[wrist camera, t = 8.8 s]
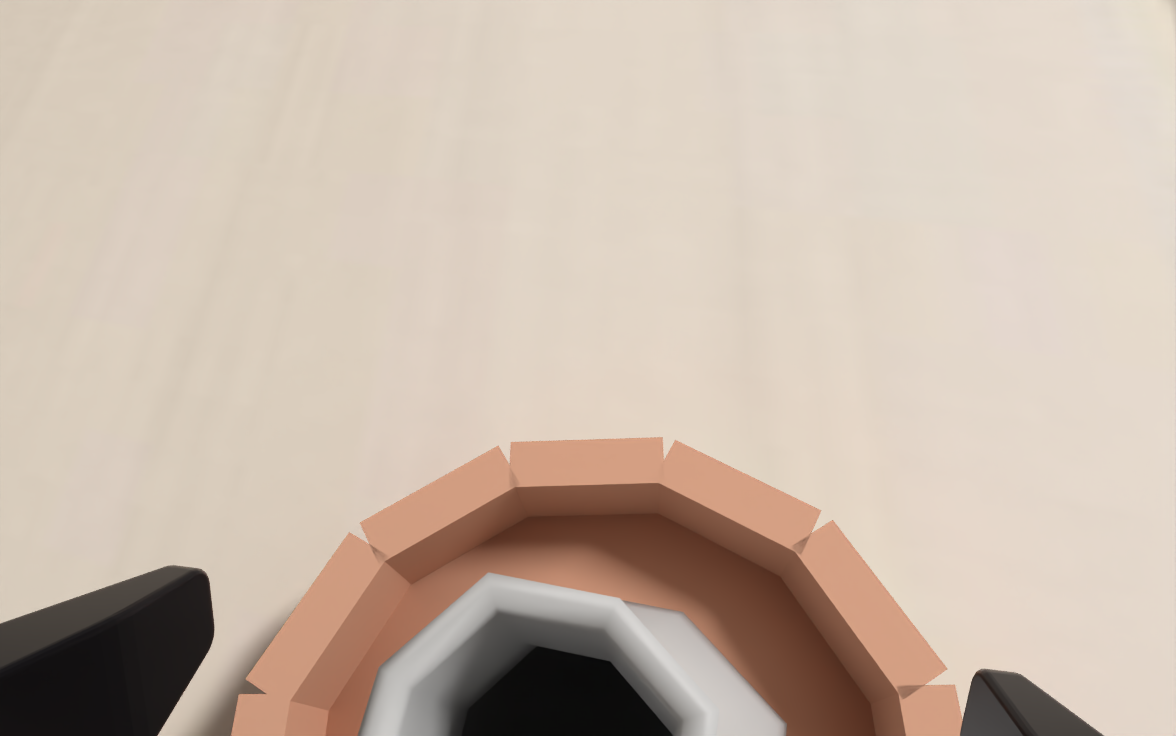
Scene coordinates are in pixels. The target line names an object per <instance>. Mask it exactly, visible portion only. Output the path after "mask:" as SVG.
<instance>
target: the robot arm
mask: <svg viewBox="0 0 1176 736" xmlns="http://www.w3.org/2000/svg"><path fill="white" fill-rule="evenodd" d="M213 637H214V619H213V610H212V601H211V591H210V583H209V578H208V576H207V574H206V573H205V572H204V571H203V570H202V569H199V568H191V567H183V566H175V565H172V566H166V567H163V568H160V569H157V570H154V571H151V572H148V573H146V574H143V575H140V576H137V577H134V578H131V579H128V580H125V581H122V582H119V583H117V584H114V585H111V586H108V587H105V588H102V589H99V590H96V591H93V592H90V593H88V594H85V595H82V596H79V597H76V598H73V599H70V600H67V601H64V602H61V603H59V604H56V605H53V606H50V607H47V608H44V609H41V610H38V611H35V612H32V613H30V614H27V615H24V616H21V617H18V618H15V619H12V620H9V621H6V622H3V623H1V624H0V736H157V735H158V734H159V732H160V731H161V729H162V727H163V726H164V724H165V722H166V721H167V719H168V717H169V716H170V714H171V712H172V711H173V709H174V707H175V706H176V704H177V702H178V701H179V699H180V697H181V696H182V694H183V692H184V691H185V689H186V688H187V686H188V684H189V683H190V681H191V679H192V678H193V676H194V674H195V673H196V671H197V669H198V668H199V666H200V664H201V663H202V661H203V659H204V658H205V656H206V654H207V653H208V651H209V649H210V647H211V644H212V641H213ZM960 736H1104V735H1102V734H1101V733H1100V732H1098V731H1097V730H1096V729H1094V728H1093V727H1091V726H1090V725H1089V724H1087V723H1086V722H1085V721H1083V720H1082V719H1081V718H1079V717H1078V716H1077V715H1075V714H1074V713H1073V712H1071V711H1070V710H1069V709H1067V708H1066V707H1064V706H1063V705H1062V704H1060V703H1059V702H1058V701H1056V700H1055V699H1054V698H1052V697H1051V696H1050V695H1048V694H1047V693H1046V692H1044V691H1043V690H1041V689H1040V688H1039V687H1037V686H1036V685H1035V684H1033V683H1032V682H1031V681H1029V680H1028V679H1027V678H1025V677H1024V676H1022V675H1021V674H1018V673H1015V672H1007V671H998V670H990V669H980V670H979V671H977V672H976V673H975V675H974V677H973V679H972V682H971V686H970V691H969V695H968V699H967V704H966V708H965V713H964V717H963V722H962V726H961V731H960Z"/></svg>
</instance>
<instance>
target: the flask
mask: <svg viewBox="0 0 1176 736" xmlns="http://www.w3.org/2000/svg"><path fill="white" fill-rule="evenodd" d="M786 730H787V723H786V722H785V721H784V720H783V719H782V718H781V717H780V716H779V715H778V714H777V713H776V712H775V710H774V709H773V708H772V707H771V706H770V705H769V704H768V703H767V702H766V701H765V700H764V699H763V698H762V696H761V695H760V694H759V693H758V692H757V691H756V690H755V689H754V688H753V687H752V686H751V685H750V684H749V682H748V681H747V680H746V679H745V678H744V677H743V676H742V675H741V674H740V673H739V672H738V671H737V670H736V668H735V667H734V666H733V665H732V664H731V663H730V662H729V661H728V660H727V659H726V658H725V657H724V656H723V654H722V653H721V652H720V651H719V650H718V649H717V648H716V647H715V646H714V645H713V644H712V643H711V641H710V640H709V639H708V638H707V637H706V636H705V635H704V634H703V633H702V632H701V631H700V630H699V629H698V627H697V626H696V625H695V624H694V623H693V622H692V621H691V620H690V619H689V618H688V617H687V616H686V615H685V613H684V612H681V611H675V610H670V609H665V608H660V607H655V606H650V605H645V604H640V603H635V602H630V601H625V600H621V599H620V598H616V597H611V596H606V595H601V594H596V593H591V592H586V591H581V590H576V589H571V588H566V587H560V586H555V585H550V584H545V583H540V582H535V581H530V580H525V579H520V578H515V577H510V576H504V575H499V574H494V573H489V572H488V573H487V574H486V575H485V576H484V577H482V578H481V579H480V580H479V581H478V582H477V583H475V584H474V585H473V586H472V587H471V588H470V589H469V590H467V591H466V592H465V593H464V594H463V595H462V596H460V597H459V598H458V599H457V600H456V601H455V602H453V603H452V604H451V605H450V606H449V607H448V608H447V609H445V610H444V611H443V612H442V613H441V614H440V615H438V616H437V617H436V618H435V619H434V620H433V621H431V622H430V623H429V624H428V625H427V626H426V627H425V628H423V629H422V630H421V631H420V632H419V633H418V634H416V635H415V636H414V637H413V638H412V639H411V640H409V641H408V642H407V643H406V644H405V645H404V646H403V647H401V648H400V649H399V650H398V651H397V652H396V653H394V654H393V655H392V656H391V657H390V658H389V659H387V660H386V661H385V662H384V663H383V664H382V665H381V666H379V668H378V671H377V674H376V678H375V681H374V684H373V687H372V690H371V694H370V697H369V700H368V703H367V707H366V710H365V713H364V716H363V719H362V723H361V726H360V729H359V732H358V736H786Z"/></svg>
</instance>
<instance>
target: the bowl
mask: <svg viewBox="0 0 1176 736" xmlns="http://www.w3.org/2000/svg"><path fill="white" fill-rule="evenodd" d="M820 512H821V510H819V509H817V508H815V507H813V506H811V505H809V504H807V503H804V502H802V501H800V500H798V499H796V498H794V497H792V496H790V495H788V494H786V493H784V492H782V491H780V490H778V489H776V488H773V487H771V486H769V485H767V484H765V483H763V482H761V481H759V480H757V479H755V478H753V477H751V476H749V475H747V474H745V473H742V472H740V471H738V470H736V469H734V468H732V467H730V466H728V465H726V464H724V463H722V462H720V461H718V460H716V459H714V458H711V457H709V456H707V455H705V454H703V453H701V452H699V451H697V450H695V449H693V448H691V447H689V446H687V445H685V444H683V443H680V442H678V441H676V440H675V442H674V443H673V445H672V447H671V449H670V451H669V452H668V454H667V456H666V458H665V460H664V456H663V437H657V438H626V439H595V440H563V441H532V442H511V450H510V465H509V463H508V462H507V460H506V458H505V456H504V455H503V453H502V451H501V449H500V448H499V446H497V447H495V448H493V449H491V450H490V451H488V452H486V453H484V454H482V455H481V456H479V457H477V458H475V459H473V460H472V461H470V462H468V463H466V464H464V465H463V466H461V467H459V468H457V469H455V470H454V471H452V472H450V473H448V474H446V475H445V476H443V477H441V478H439V479H437V480H436V481H434V482H432V483H430V484H429V485H427V486H425V487H423V488H421V489H420V490H418V491H416V492H414V493H412V494H411V495H409V496H407V497H405V498H403V499H402V500H400V501H398V502H396V503H394V504H393V505H391V506H389V507H387V508H385V509H384V510H382V511H380V512H378V513H376V514H375V515H373V516H371V517H369V518H367V519H366V520H364V521H362V522H360V524H361V526H362V529H363V531H364V533H365V535H366V537H367V540H368V542H369V544H368V543H366V542H365V541H363V540H361V539H360V538H358V537H356V536H355V535H353V534H351V533H350V532H349V533H348V535H347V536H346V538H345V539H344V540H343V542H342V543H341V545H340V546H339V547H338V549H337V550H336V552H335V553H334V554H333V556H332V557H331V559H330V560H329V562H328V563H327V564H326V566H325V567H324V569H323V570H322V571H321V573H320V574H319V576H318V577H317V578H316V580H315V581H314V583H313V584H312V586H311V587H310V588H309V590H308V591H307V593H306V594H305V595H304V597H303V598H302V600H301V601H300V602H299V604H298V605H297V607H296V608H295V610H294V611H293V612H292V614H291V615H290V617H289V618H288V619H287V621H286V622H285V624H284V625H283V627H282V628H281V629H280V631H279V632H278V634H277V635H276V636H275V638H274V639H273V641H272V642H271V643H270V645H269V646H268V648H267V649H266V651H265V652H264V653H263V655H262V656H261V658H260V659H259V660H258V662H257V663H256V665H255V666H254V667H253V669H252V670H251V672H250V673H249V675H248V676H247V677H246V680H247V681H249V682H250V683H252V684H253V685H255V686H256V687H257V688H259V689H260V690H262V691H263V692H265V693H266V694H239V696H238V701H237V706H236V712H235V717H234V722H233V728H232V733H231V736H358V732H359V729H360V726H361V723H362V719H363V716H364V713H365V710H366V707H367V703H368V700H369V697H370V694H371V690H372V687H373V684H374V681H375V678H376V674H377V671H378V668H379V666H381V665H382V664H383V663H384V662H385V661H386V660H387V659H389V658H390V657H391V656H392V655H393V654H394V653H396V652H397V651H398V650H399V649H400V648H401V647H403V646H404V645H405V644H406V643H407V642H408V641H409V640H411V639H412V638H413V637H414V636H415V635H416V634H418V633H419V632H420V631H421V630H422V629H423V628H425V627H426V626H427V625H428V624H429V623H430V622H431V621H433V620H434V619H435V618H436V617H437V616H438V615H440V614H441V613H442V612H443V611H444V610H445V609H447V608H448V607H449V606H450V605H451V604H452V603H453V602H455V601H456V600H457V599H458V598H459V597H460V596H462V595H463V594H464V593H465V592H466V591H467V590H469V589H470V588H471V587H472V586H473V585H474V584H475V583H477V582H478V581H479V580H480V579H481V578H482V577H484V576H485V575H486V574H487V573H488V572H489V573H494V574H499V575H504V576H510V577H515V578H520V579H525V580H530V581H535V582H540V583H545V584H550V585H555V586H560V587H566V588H571V589H576V590H581V591H586V592H591V593H596V594H601V595H606V596H611V597H616V598H620V599H621V600H625V601H630V602H635V603H640V604H645V605H650V606H655V607H660V608H665V609H670V610H675V611H681V612H684V613H685V615H686V616H687V617H688V618H689V619H690V620H691V621H692V622H693V623H694V624H695V625H696V626H697V627H698V629H699V630H700V631H701V632H702V633H703V634H704V635H705V636H706V637H707V638H708V639H709V640H710V641H711V643H712V644H713V645H714V646H715V647H716V648H717V649H718V650H719V651H720V652H721V653H722V654H723V656H724V657H725V658H726V659H727V660H728V661H729V662H730V663H731V664H732V665H733V666H734V667H735V668H736V670H737V671H738V672H739V673H740V674H741V675H742V676H743V677H744V678H745V679H746V680H747V681H748V682H749V684H750V685H751V686H752V687H753V688H754V689H755V690H756V691H757V692H758V693H759V694H760V695H761V696H762V698H763V699H764V700H765V701H766V702H767V703H768V704H769V705H770V706H771V707H772V708H773V709H774V710H775V712H776V713H777V714H778V715H779V716H780V717H781V718H782V719H783V720H784V721H785V722H786V723H787V730H786V736H960V731H961V726H962V722H963V721H962V716H961V711H960V707H959V702H958V697H957V692H956V687H955V685H925V684H927V683H928V682H930V681H931V680H932V679H934V678H935V677H937V676H938V675H940V674H941V673H942V672H944V671H945V670H947V668H946V666H945V665H944V664H943V662H942V661H941V660H940V659H939V657H938V656H937V655H936V653H935V652H934V651H933V649H932V648H931V647H930V646H929V644H928V643H927V642H926V640H925V639H924V638H923V636H922V635H921V634H920V633H919V631H918V630H917V629H916V627H915V626H914V625H913V623H912V622H911V621H910V620H909V618H908V617H907V616H906V614H905V613H904V612H903V610H902V609H901V608H900V607H899V605H898V604H897V603H896V601H895V600H894V599H893V598H892V596H891V595H890V594H889V592H888V591H887V590H886V588H885V587H884V586H883V585H882V583H881V582H880V581H879V579H878V578H877V577H876V575H875V574H874V573H873V572H872V570H871V569H870V568H869V566H868V565H867V564H866V562H865V561H864V560H863V559H862V557H861V556H860V555H859V553H858V552H857V551H856V550H855V548H854V547H853V546H852V544H851V543H850V542H849V540H848V539H847V538H846V537H845V535H844V534H843V533H842V531H841V530H840V529H839V527H838V526H837V525H836V524H835V522H834V521H833V520H832V521H830V522H829V523H827V524H825V525H824V526H822V527H821V528H819V529H818V530H816V531H814V532H813V533H811V532H812V530H813V528H814V526H815V523H816V521H817V519H818V517H819V515H820Z"/></svg>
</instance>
